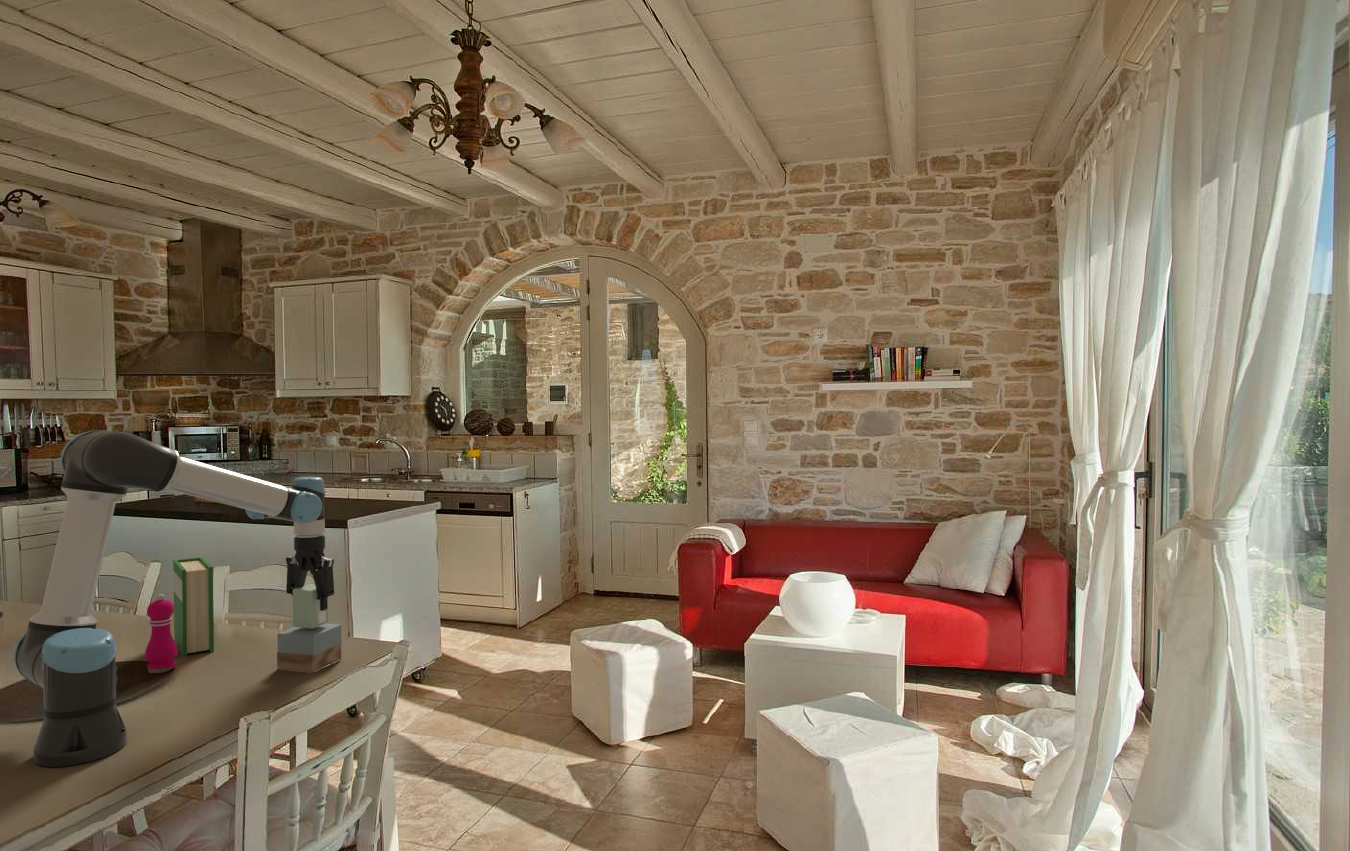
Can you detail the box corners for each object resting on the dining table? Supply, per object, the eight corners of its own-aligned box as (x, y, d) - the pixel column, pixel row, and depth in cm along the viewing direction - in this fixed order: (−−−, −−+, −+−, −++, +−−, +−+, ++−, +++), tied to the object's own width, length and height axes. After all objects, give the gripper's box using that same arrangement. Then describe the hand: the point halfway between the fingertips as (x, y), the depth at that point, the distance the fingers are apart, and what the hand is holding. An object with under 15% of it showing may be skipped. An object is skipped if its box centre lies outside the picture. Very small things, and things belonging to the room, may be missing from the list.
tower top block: (313, 655, 206) (313, 636, 206) (277, 652, 209) (277, 633, 208) (341, 643, 217) (341, 624, 216) (306, 640, 219) (306, 622, 219)
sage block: (311, 628, 209) (311, 590, 209) (293, 626, 211) (292, 589, 211) (327, 622, 215) (327, 585, 215) (309, 620, 217) (309, 584, 216)
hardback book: (213, 651, 224) (212, 566, 223) (183, 657, 219) (181, 570, 218) (203, 637, 237) (202, 557, 237) (174, 641, 233) (173, 560, 232)
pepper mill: (161, 675, 204) (160, 598, 204) (137, 673, 206) (136, 596, 205) (184, 666, 211) (183, 591, 211) (161, 664, 213) (160, 590, 212)
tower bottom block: (312, 675, 206) (311, 655, 206) (277, 670, 209) (276, 652, 209) (341, 661, 217) (341, 643, 216) (307, 657, 220) (307, 639, 219)
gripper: (349, 534, 213) (350, 620, 214) (290, 531, 218) (291, 614, 219) (329, 539, 206) (330, 628, 207) (269, 535, 211) (270, 622, 212)
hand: (310, 621), depth 213 cm, fingers closed on sage block, 6 cm apart
